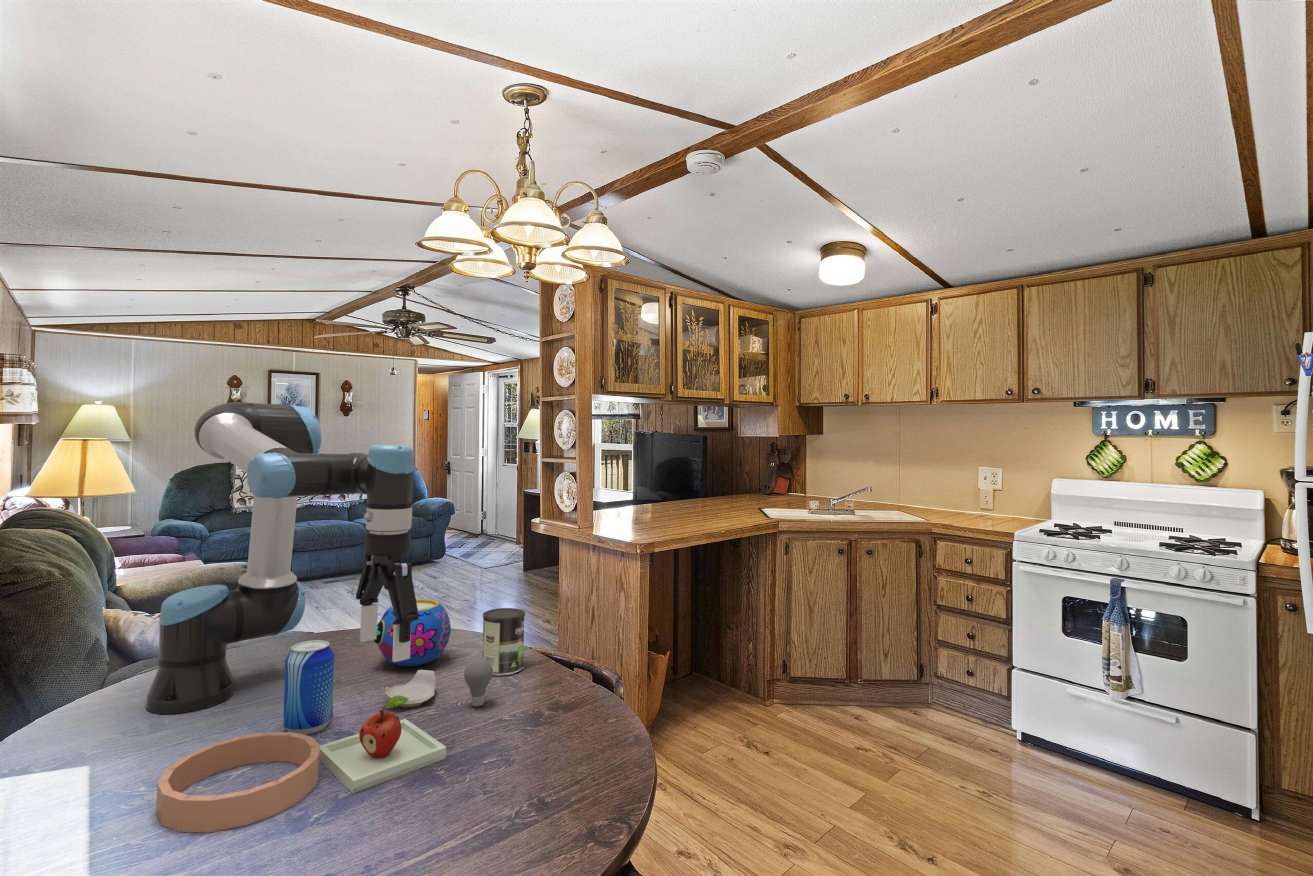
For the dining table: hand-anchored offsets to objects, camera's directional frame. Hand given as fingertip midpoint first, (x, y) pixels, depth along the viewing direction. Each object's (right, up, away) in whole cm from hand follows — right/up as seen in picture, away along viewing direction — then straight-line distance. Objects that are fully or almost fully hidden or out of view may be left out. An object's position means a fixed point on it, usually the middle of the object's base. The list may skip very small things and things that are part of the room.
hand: (384, 649), depth 111 cm
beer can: (-20, -19, +11) cm, 29 cm away
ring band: (-17, -19, -12) cm, 28 cm away
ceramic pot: (-13, -20, +47) cm, 53 cm away
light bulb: (+10, -20, +23) cm, 32 cm away
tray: (0, -19, 0) cm, 19 cm away
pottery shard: (-4, -20, +24) cm, 31 cm away
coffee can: (+10, -20, +44) cm, 50 cm away
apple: (0, -19, -1) cm, 19 cm away
